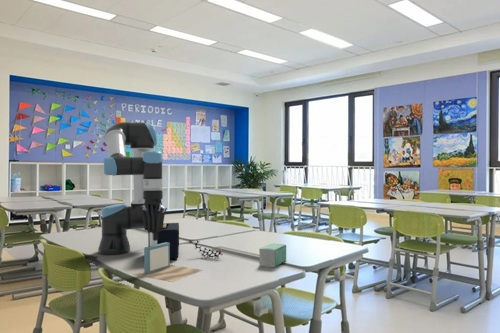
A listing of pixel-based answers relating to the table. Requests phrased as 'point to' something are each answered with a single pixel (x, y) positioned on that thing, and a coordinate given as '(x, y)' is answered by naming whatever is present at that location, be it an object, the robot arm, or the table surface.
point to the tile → (156, 257)
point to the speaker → (169, 238)
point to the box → (272, 255)
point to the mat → (170, 273)
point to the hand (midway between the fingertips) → (153, 248)
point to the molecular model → (208, 251)
